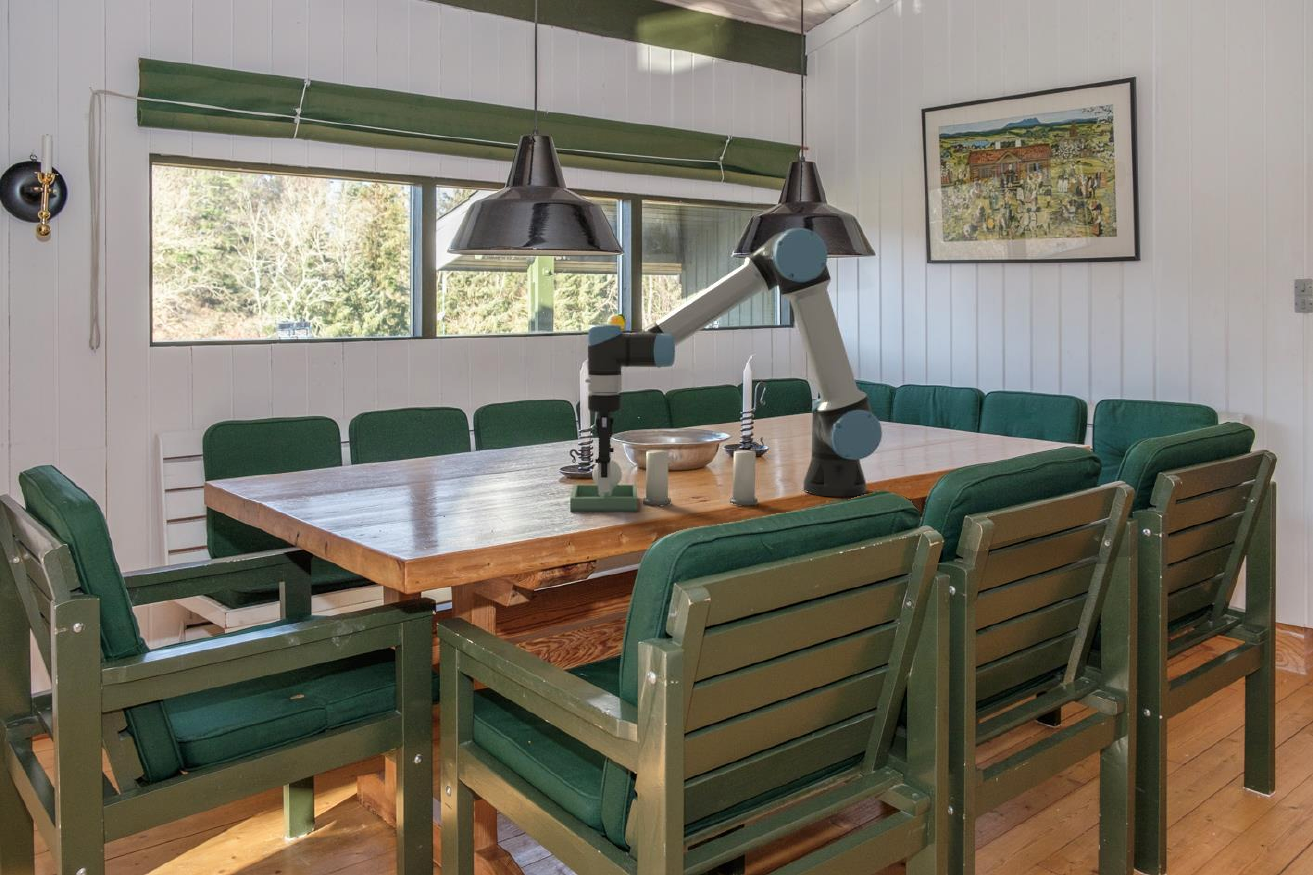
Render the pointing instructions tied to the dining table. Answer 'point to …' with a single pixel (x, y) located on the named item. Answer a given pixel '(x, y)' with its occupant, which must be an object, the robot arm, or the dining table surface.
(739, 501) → the candle
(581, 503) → the tray
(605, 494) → the light bulb
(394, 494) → the dining table surface
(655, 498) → the candle
